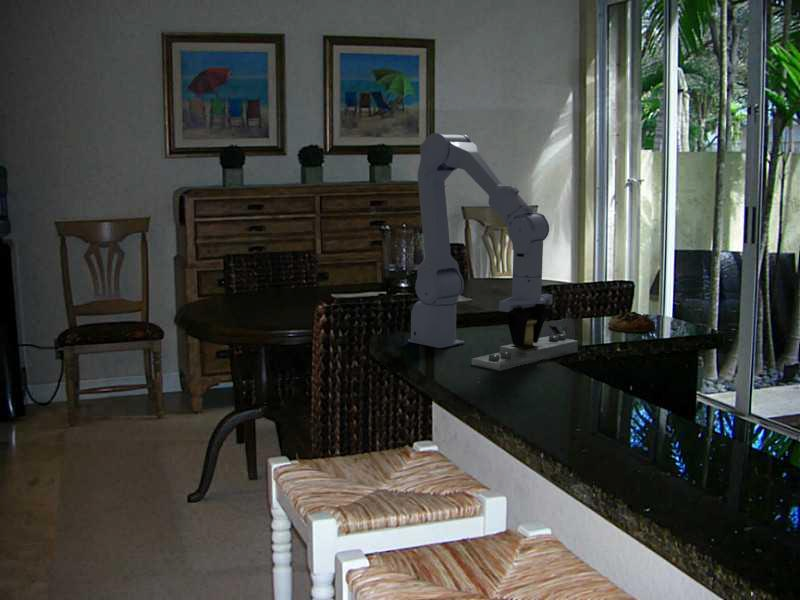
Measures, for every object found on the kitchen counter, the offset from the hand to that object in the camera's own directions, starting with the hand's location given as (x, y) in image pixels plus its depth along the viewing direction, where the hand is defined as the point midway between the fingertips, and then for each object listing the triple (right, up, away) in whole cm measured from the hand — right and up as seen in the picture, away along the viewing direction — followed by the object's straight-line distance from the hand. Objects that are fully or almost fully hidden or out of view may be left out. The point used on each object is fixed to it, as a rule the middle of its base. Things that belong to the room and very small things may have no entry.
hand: (525, 343), depth 188 cm
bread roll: (+29, +1, +34) cm, 45 cm away
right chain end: (+3, -2, +4) cm, 6 cm away
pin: (0, -2, +1) cm, 2 cm away
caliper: (+12, +1, +28) cm, 31 cm away
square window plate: (-3, -3, -2) cm, 5 cm away
